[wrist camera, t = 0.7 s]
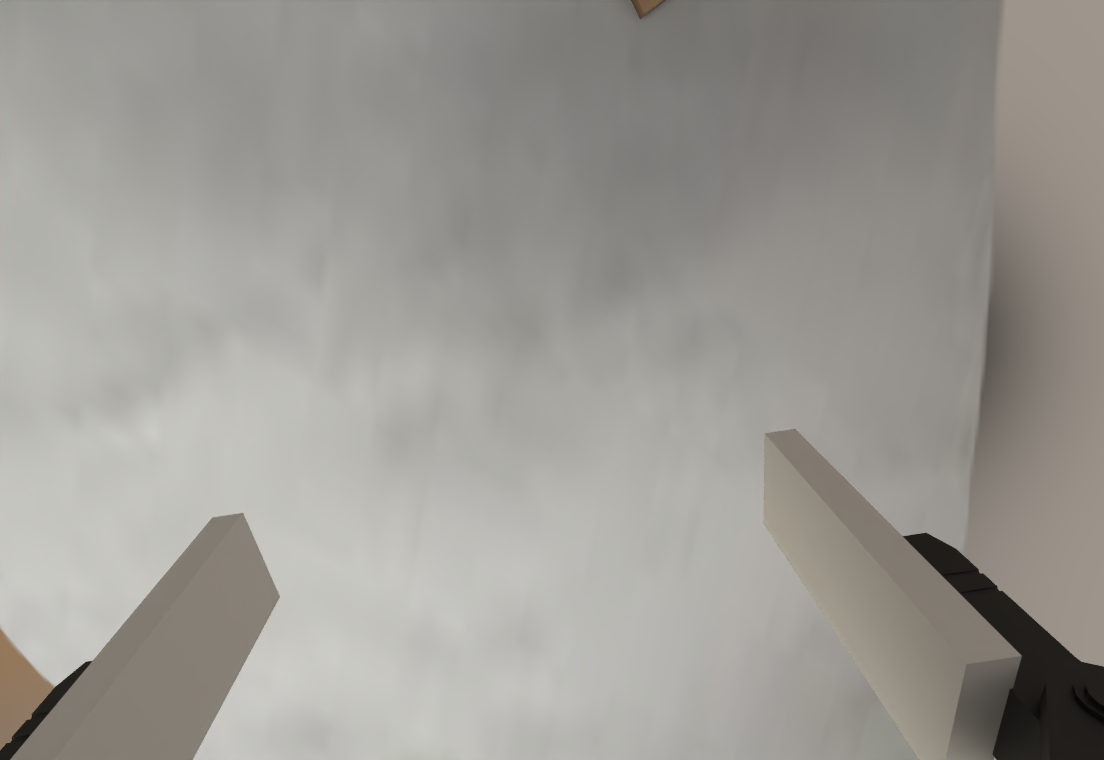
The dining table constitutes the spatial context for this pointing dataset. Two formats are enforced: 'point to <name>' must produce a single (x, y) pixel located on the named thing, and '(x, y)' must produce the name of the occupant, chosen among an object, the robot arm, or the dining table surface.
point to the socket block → (645, 6)
